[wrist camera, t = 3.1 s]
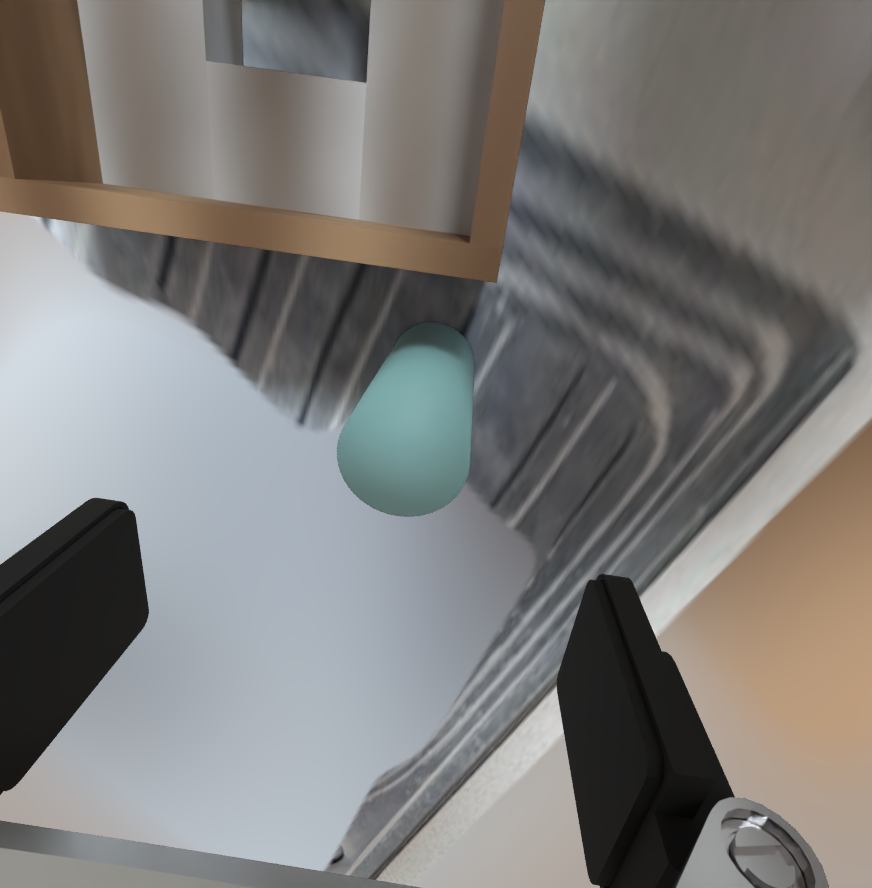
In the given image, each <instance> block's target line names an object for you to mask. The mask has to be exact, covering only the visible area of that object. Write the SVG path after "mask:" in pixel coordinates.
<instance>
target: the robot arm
mask: <svg viewBox="0 0 872 888" xmlns="http://www.w3.org/2000/svg"><path fill="white" fill-rule="evenodd" d="M148 614H149V609H148V601H147V594H146V587H145V580H144V573H143V566H142V559H141V552H140V545H139V538H138V532H137V524H136V517H135V514H134V512H133V511H131V510H129V508H128V506H127V505H126V503H124V502H121V501H114V500H107V499H100V498H92V499H90V500H88V501H86V502H85V503H84V504H83V505H81V506H80V507H78V508H77V509H76V510H74V511H73V512H71V513H70V514H69V515H67V516H66V517H65V518H63V519H62V520H61V521H59V522H58V523H56V524H55V525H54V526H52V527H51V528H50V529H48V530H47V531H46V532H44V533H43V534H41V535H40V536H39V537H37V538H36V539H35V540H33V541H32V542H31V543H29V544H28V545H27V546H25V547H24V548H22V550H20V551H18V552H17V553H16V554H15V555H13V556H12V557H10V558H9V559H7V560H6V561H5V562H4V563H2V564H1V565H0V795H1V793H2V792H3V791H7V790H10V789H12V788H13V787H14V786H16V784H17V783H18V782H19V781H20V780H21V779H22V778H23V777H24V775H25V774H26V773H27V772H28V770H29V769H30V768H31V767H32V765H33V764H34V763H35V762H36V760H37V759H38V758H39V757H40V756H41V754H42V753H43V752H44V751H45V749H46V748H47V747H48V746H49V744H50V743H51V742H52V741H53V739H54V738H55V737H56V736H57V734H58V733H59V732H60V731H61V730H62V728H63V727H64V726H65V725H66V723H67V722H68V721H69V720H70V718H71V717H72V716H73V715H74V713H75V712H76V711H77V709H78V708H79V707H80V706H81V705H82V703H83V702H84V701H85V700H86V698H87V697H88V696H89V695H90V694H91V692H92V691H93V690H94V689H95V687H96V686H97V685H98V684H99V682H100V681H101V680H102V679H103V677H104V676H105V675H106V674H107V672H108V671H109V670H110V669H111V667H112V666H113V665H114V664H115V662H116V661H117V660H118V659H119V658H120V656H121V655H122V654H123V653H124V651H125V650H126V649H127V647H128V646H129V645H130V644H131V643H132V641H133V640H134V639H135V638H136V636H137V635H138V634H139V633H140V632H141V630H142V629H143V627H144V626H145V623H146V622H147V618H148ZM557 693H558V699H559V705H560V711H561V717H562V723H563V729H564V735H565V741H566V746H567V753H568V759H569V764H570V770H571V777H572V782H573V788H574V794H575V800H576V806H577V812H578V818H579V824H580V830H581V836H582V842H583V848H584V854H585V860H586V866H587V871H588V876H589V879H590V881H591V883H592V884H594V885H599V886H600V888H829V885H828V882H827V879H826V876H825V873H824V870H823V867H822V865H821V863H820V862H819V860H818V858H817V857H816V855H815V853H814V852H813V850H812V848H811V847H810V846H809V845H808V843H807V842H806V841H805V840H804V839H803V837H802V836H801V835H800V834H799V833H798V832H797V830H796V829H795V828H793V827H792V826H791V825H790V824H789V823H788V822H787V821H785V820H784V819H783V818H782V817H781V816H780V815H778V814H776V813H775V812H773V811H772V810H770V809H768V808H766V807H765V806H763V805H762V804H759V803H756V802H753V801H751V800H748V799H745V798H735V797H734V794H733V792H732V790H731V787H730V785H729V783H728V781H727V778H726V776H725V774H724V772H723V769H722V767H721V765H720V763H719V760H718V758H717V756H716V754H715V751H714V749H713V747H712V745H711V742H710V740H709V738H708V735H707V733H706V731H705V729H704V726H703V724H702V722H701V720H700V718H699V715H698V713H697V711H696V708H695V706H694V704H693V702H692V699H691V697H690V695H689V693H688V690H687V688H686V686H685V684H684V681H683V679H682V677H681V674H680V672H679V670H678V668H677V665H676V663H675V661H674V660H673V658H672V656H671V655H669V654H668V653H667V652H662V651H661V649H660V646H659V644H658V642H657V639H656V637H655V635H654V632H653V630H652V627H651V625H650V623H649V620H648V618H647V616H646V613H645V611H644V609H643V606H642V604H641V601H640V599H639V597H638V594H637V592H636V590H635V587H634V585H633V583H632V581H631V579H629V578H625V577H619V576H612V575H605V574H600V575H599V576H598V577H597V580H589V581H588V583H587V585H586V588H585V591H584V595H583V598H582V601H581V604H580V607H579V610H578V613H577V616H576V620H575V623H574V626H573V629H572V632H571V635H570V638H569V641H568V645H567V648H566V651H565V654H564V657H563V660H562V663H561V666H560V670H559V673H558V678H557ZM0 888H419V887H413V886H407V885H401V884H395V883H389V882H383V881H377V880H371V879H365V878H359V877H353V876H347V875H341V874H335V873H329V872H323V871H316V870H310V869H304V868H298V867H291V866H285V865H279V864H273V863H267V862H260V861H254V860H247V859H242V858H236V857H229V856H223V855H217V854H210V853H204V852H198V851H192V850H185V849H179V848H173V847H166V846H160V845H153V844H148V843H141V842H135V841H129V840H122V839H115V838H109V837H103V836H96V835H90V834H83V833H77V832H70V831H64V830H57V829H51V828H44V827H38V826H31V825H25V824H18V823H11V822H5V821H0Z"/></svg>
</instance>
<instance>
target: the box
mask: <svg viewBox="0 0 872 888" xmlns="http://www.w3.org/2000/svg"><path fill="white" fill-rule="evenodd" d="M544 5H545V0H371V9H370V27H369V45H368V63H367V81H366V83H363V82H356V81H349V80H341V79H334V78H327V77H320V76H312V75H305V74H298V73H290V72H283V71H276V70H268V69H261V68H254V67H247V66H243V48H242V16H241V0H0V211H3V212H10V213H16V214H23V215H30V216H36V217H43V218H50V219H57V220H64V221H71V222H78V223H85V224H92V225H99V226H106V227H113V228H120V229H127V230H134V231H141V232H148V233H155V234H161V235H168V236H175V237H182V238H189V239H196V240H203V241H210V242H217V243H224V244H231V245H238V246H245V247H252V248H259V249H266V250H273V251H280V252H286V253H293V254H300V255H307V256H314V257H321V258H328V259H335V260H342V261H349V262H356V263H363V264H370V265H377V266H384V267H391V268H398V269H404V270H411V271H418V272H425V273H432V274H439V275H446V276H453V277H460V278H467V279H474V280H481V281H488V282H495V283H497V277H498V272H499V266H500V260H501V254H502V248H503V243H504V237H505V231H506V225H507V219H508V214H509V208H510V202H511V196H512V190H513V185H514V179H515V173H516V167H517V161H518V156H519V150H520V144H521V138H522V132H523V127H524V121H525V115H526V109H527V103H528V98H529V92H530V86H531V80H532V74H533V69H534V63H535V57H536V51H537V45H538V40H539V34H540V28H541V22H542V16H543V11H544Z"/></svg>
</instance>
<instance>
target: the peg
mask: <svg viewBox="0 0 872 888" xmlns="http://www.w3.org/2000/svg"><path fill="white" fill-rule="evenodd" d="M474 368H475V363H474V355H473V352H472V349H471V347H470V344H469V343H468V341H467V340H466V339H465V337H464V336H463V335H462V334H461V333H460V332H459V331H457V330H456V329H454V328H452V327H450V326H448V325H445V324H442V323H437V322H426V323H421V324H418V325H415V326H413V327H411V328H409V329H408V330H406V331H405V332H404V333H403V334H402V335H401V336H400V337H399V339H398V340H397V342H396V343H395V345H394V346H393V348H392V350H391V351H390V353H389V354H388V356H387V358H386V359H385V361H384V363H383V364H382V366H381V367H380V369H379V371H378V372H377V374H376V375H375V377H374V379H373V380H372V382H371V383H370V385H369V387H368V388H367V390H366V392H365V393H364V395H363V396H362V398H361V400H360V401H359V403H358V404H357V406H356V408H355V409H354V411H353V412H352V414H351V416H350V417H349V419H348V420H347V422H346V424H345V425H344V427H343V429H342V431H341V433H340V436H339V440H338V446H337V460H338V466H339V469H340V472H341V474H342V476H343V479H344V481H345V482H346V484H347V485H348V487H349V488H350V489H351V491H352V492H353V493H354V494H355V495H356V496H357V497H358V498H359V499H360V500H362V501H363V502H365V503H366V504H367V505H369V506H371V507H372V508H374V509H377V510H379V511H381V512H384V513H387V514H391V515H396V516H420V515H425V514H428V513H431V512H434V511H437V510H438V509H441V508H442V507H444V506H446V505H447V504H448V503H450V502H451V501H452V500H453V499H454V498H455V497H456V496H457V495H458V494H459V492H460V491H461V490H462V488H463V486H464V485H465V482H466V480H467V477H468V473H469V469H470V455H471V433H472V411H473V389H474Z"/></svg>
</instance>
